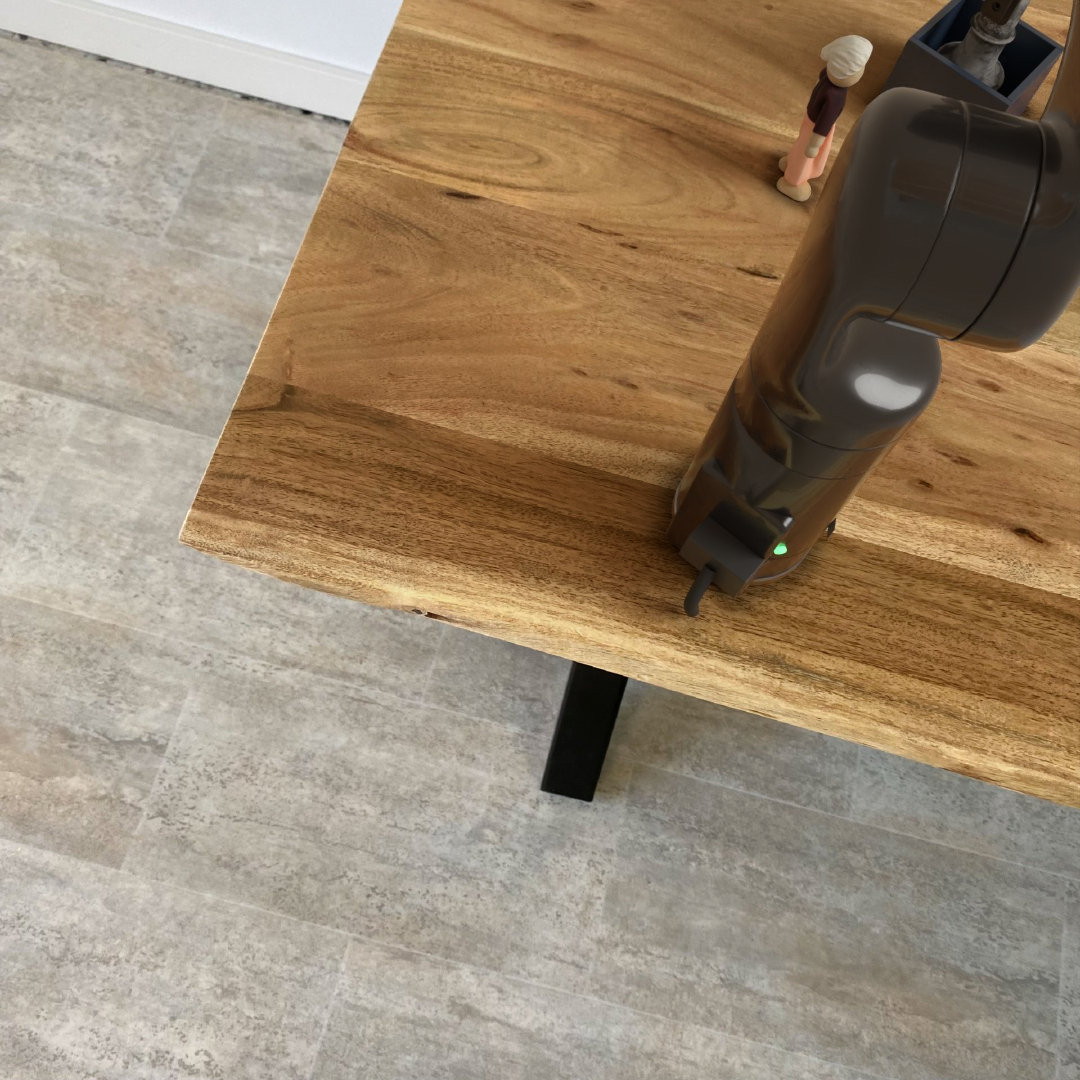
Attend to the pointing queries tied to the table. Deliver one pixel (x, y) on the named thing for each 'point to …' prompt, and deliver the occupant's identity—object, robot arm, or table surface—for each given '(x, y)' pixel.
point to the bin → (936, 74)
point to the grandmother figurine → (823, 114)
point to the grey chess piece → (984, 47)
